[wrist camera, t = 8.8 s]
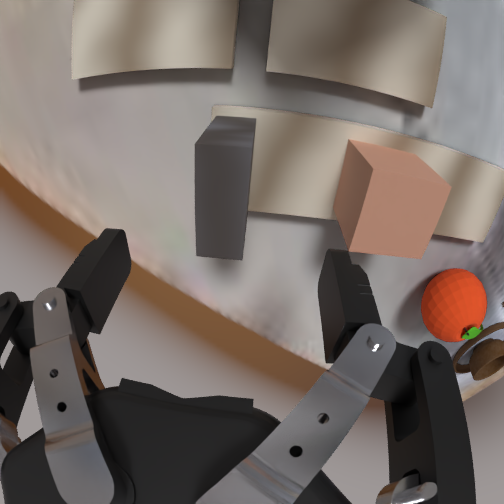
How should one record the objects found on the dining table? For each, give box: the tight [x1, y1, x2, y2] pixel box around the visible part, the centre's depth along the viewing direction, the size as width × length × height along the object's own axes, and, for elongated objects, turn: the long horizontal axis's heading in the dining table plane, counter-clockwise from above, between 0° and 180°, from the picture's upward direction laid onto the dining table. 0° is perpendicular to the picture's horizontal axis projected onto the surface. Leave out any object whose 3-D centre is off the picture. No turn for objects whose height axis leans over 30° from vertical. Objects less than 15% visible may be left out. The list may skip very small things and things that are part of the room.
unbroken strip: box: [195, 105, 504, 260], centre depth 17 cm, size 24×7×7 cm, turn 85°
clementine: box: [421, 268, 487, 342], centre depth 23 cm, size 8×7×7 cm
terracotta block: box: [333, 139, 452, 259], centre depth 17 cm, size 5×5×5 cm
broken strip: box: [72, 0, 447, 108], centre depth 13 cm, size 24×7×1 cm, turn 85°
